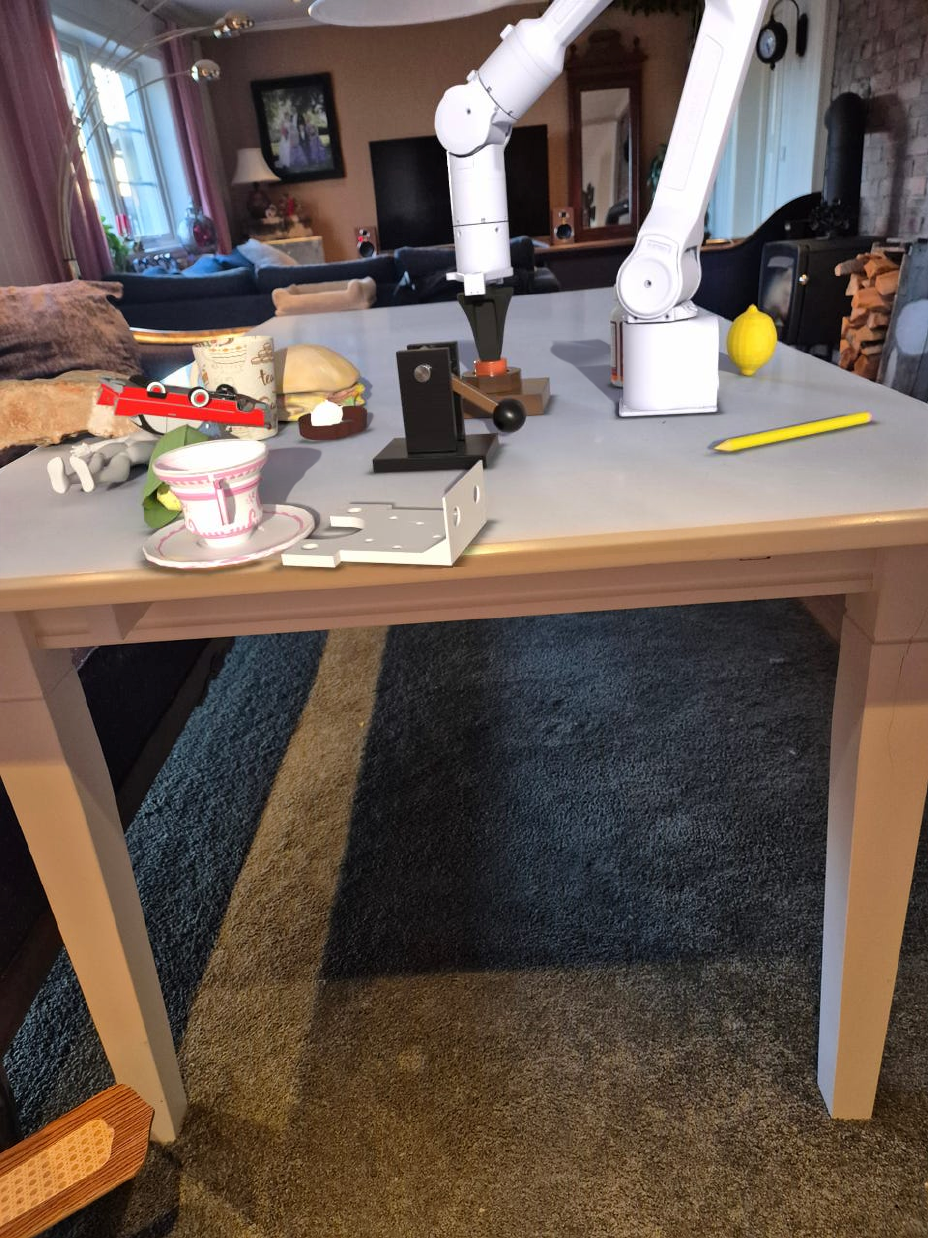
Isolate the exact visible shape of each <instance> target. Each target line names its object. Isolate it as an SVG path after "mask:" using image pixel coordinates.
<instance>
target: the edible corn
mask: <svg viewBox="0 0 928 1238" xmlns="http://www.w3.org/2000/svg"><path fill="white" fill-rule="evenodd" d="M205 434H206V433H204V432H202V431H201V430H200V429H199V430H197V429H196V428H193V427H191V426H189V425H188V424H185V425H183V426H180V427H178V428H176V429H174V430H172V431H170V432H168V433H166V434H165V435H164V436H163V437H162V438H161V439H160V440H159V441H158V443H157V445H156V447H155V449H154V451H153V453H152V456H151V458H150V463H149V465H148V470H147V476H146V481H145V485H144V486H143V488H142V489H141V493H142V496H143V498H142V501H141V506H143V520H144V522H145V523H146V524H147V525H148V526H149V528H150V529H162V528H164V527H165V526H167V524H169V523H170V522H172V521H173V520H174V519H175V518H177V517H178V515H179V514H180V513H182V508H181V505H180V502H179V500H178V499H177V498H176V497H175V496H174V495H173V494H172V493H171V492H170V485H168V484H167V483H165V482H163V481H162V480H160V479H159V478H158V477H157V476H156V475H155V474H154V472H153V469H152V463H153V462H154V460H155V459H156V458H158V457H159V456H161V455H162V454H164V453H167V452H169V451H171V450H174V449H177V448H181V447H184V446H188V445H192V444H197V443H202V442H208V441H209V438H208V436H207V435H208V434H207V435H205Z"/></svg>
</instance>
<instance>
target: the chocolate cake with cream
mask: <svg viewBox="0 0 928 1238" xmlns="http://www.w3.org/2000/svg"><path fill="white" fill-rule="evenodd" d="M344 421H345V422H344ZM297 425H298V431H299V435H300V437H301V438H304V439H307V440H310V441H331V440H340V439H345V438H348V437H349V436H350V437H351V436H354V435H356V434H359V433H362V432H363V431H365V430H366V429H367V427H368V410H367V409H366V407H364V406H362V405H360V406H340V407H339V406H338V405H336V404H335V403H333V402H330V401H328V400H327V399H326V400H325V402H322V403H320V404H319V405H318V406H316V408H315V409H314V410H313V412H310V413H308V414H305V415H302V416H300V417H299V418H298V421H297Z"/></svg>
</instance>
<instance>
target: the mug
mask: <svg viewBox="0 0 928 1238" xmlns="http://www.w3.org/2000/svg"><path fill="white" fill-rule="evenodd" d="M274 342H275V341H274V337H273V336H271V335H247V336H246V335H245V336H236V337H228V338H227V337H226V338H220V339H213V340H208V341H203V342H198V343H195V344H193V345H192V346H191V348H192V349H191V350H192V353H193V357H194V361H193V362H192V365H191V367H190V371H189V388H194V387H197V386H200V377H201V380H202V383H203V386H204V389H205V390H211V391H216V388H217V387H218V386H219V385H221V384H228V385H230V386H231V387H233V389H234V392H235V393H237V394H243V395H247V396H250V397H251V398H253V399H256V400H259V401H260V402H264V403H266V405H267V408H266V410H263V411H264V426H253V425H241V424H228V423H216V424H217V427H218V430H219V433H220V436H221V437H224V436H225V437H226V439H249V440H256V441H260V440H266V439H269V438H272V437H274V436H276V435H277V434H278V433H279V421H278V415H277V395H276V375H275V355H274V352H275V343H274Z"/></svg>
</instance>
